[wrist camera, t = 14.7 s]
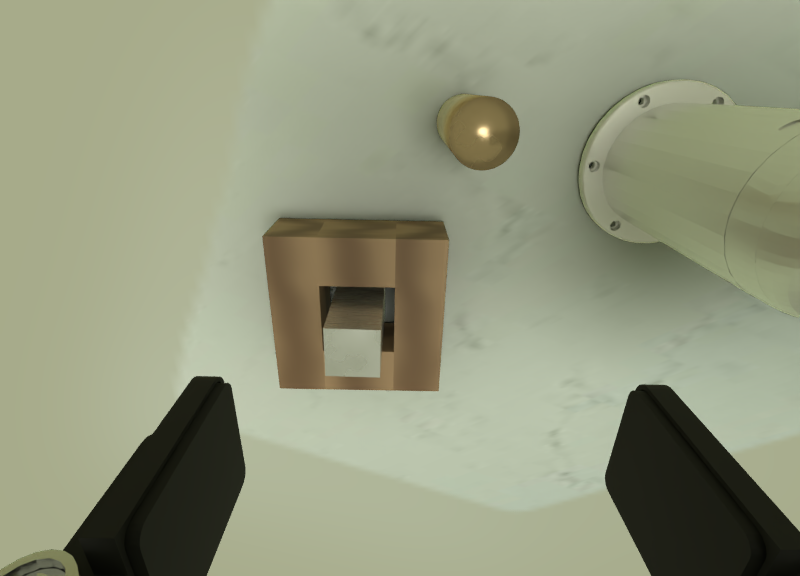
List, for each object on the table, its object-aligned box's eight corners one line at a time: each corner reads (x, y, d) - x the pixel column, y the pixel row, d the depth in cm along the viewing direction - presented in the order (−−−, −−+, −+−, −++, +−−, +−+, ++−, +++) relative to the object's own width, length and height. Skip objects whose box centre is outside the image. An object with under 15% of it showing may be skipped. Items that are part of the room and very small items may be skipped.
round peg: (490, 94, 33) (524, 97, 24) (485, 149, 35) (514, 171, 26) (438, 93, 33) (451, 95, 24) (435, 148, 35) (447, 169, 26)
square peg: (385, 274, 39) (380, 330, 30) (384, 313, 41) (380, 377, 32) (341, 272, 39) (323, 328, 30) (342, 312, 41) (325, 375, 32)
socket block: (443, 221, 37) (449, 240, 33) (434, 359, 43) (438, 391, 39) (279, 218, 37) (262, 236, 33) (292, 356, 43) (280, 388, 39)
